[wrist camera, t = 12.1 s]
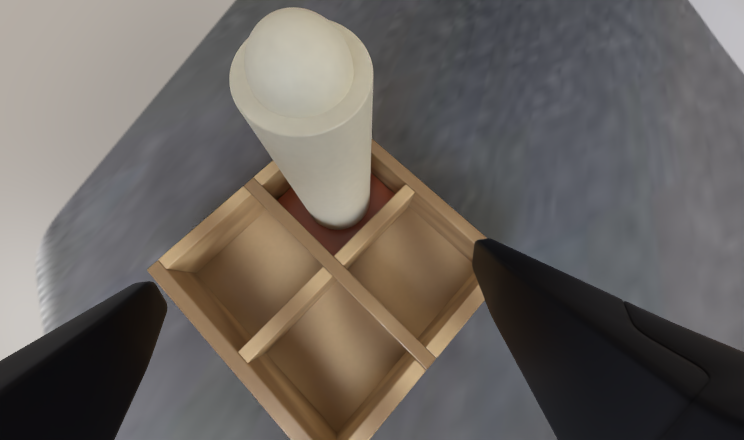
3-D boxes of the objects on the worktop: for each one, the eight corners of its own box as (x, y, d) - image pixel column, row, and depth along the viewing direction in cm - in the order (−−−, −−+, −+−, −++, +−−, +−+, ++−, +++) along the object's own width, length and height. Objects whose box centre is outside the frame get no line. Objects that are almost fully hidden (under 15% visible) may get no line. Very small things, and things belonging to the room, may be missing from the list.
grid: (337, 451, 17) (330, 487, 14) (182, 274, 20) (145, 269, 16) (491, 268, 20) (515, 262, 17) (339, 133, 23) (335, 105, 19)
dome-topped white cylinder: (357, 238, 20) (339, 122, 7) (297, 218, 20) (166, 69, 7) (378, 181, 21) (396, -15, 8) (320, 162, 21) (244, -57, 8)
